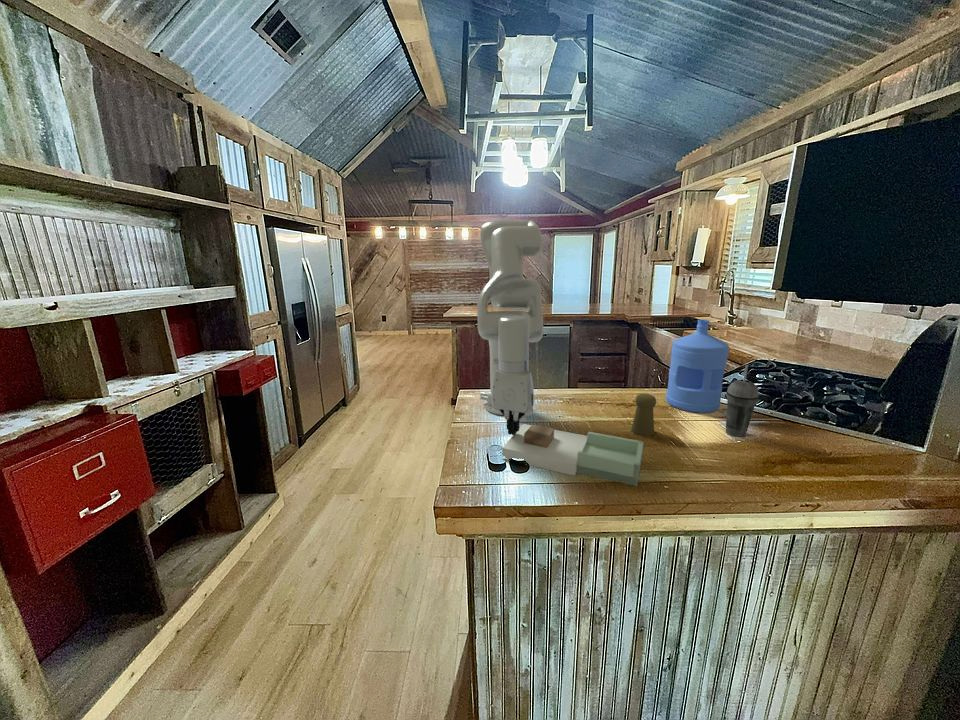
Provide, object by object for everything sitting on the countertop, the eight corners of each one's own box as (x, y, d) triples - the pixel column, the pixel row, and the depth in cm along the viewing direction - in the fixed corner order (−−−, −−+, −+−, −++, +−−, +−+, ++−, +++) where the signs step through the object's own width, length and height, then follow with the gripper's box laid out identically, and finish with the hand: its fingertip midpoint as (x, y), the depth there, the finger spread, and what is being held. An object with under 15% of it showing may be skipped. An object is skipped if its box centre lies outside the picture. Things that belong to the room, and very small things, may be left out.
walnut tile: (523, 443, 95) (524, 433, 94) (531, 433, 100) (531, 424, 100) (547, 447, 92) (547, 438, 92) (553, 437, 98) (554, 428, 97)
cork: (629, 434, 105) (633, 396, 102) (632, 425, 110) (635, 390, 107) (653, 438, 102) (657, 400, 100) (655, 429, 108) (659, 393, 105)
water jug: (657, 396, 133) (666, 316, 125) (703, 395, 132) (715, 316, 125) (678, 414, 118) (690, 325, 110) (730, 413, 117) (745, 324, 110)
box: (576, 472, 87) (577, 453, 86) (587, 449, 97) (588, 431, 96) (637, 486, 81) (639, 466, 80) (641, 460, 92) (643, 441, 90)
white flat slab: (502, 458, 94) (502, 447, 93) (523, 433, 107) (523, 423, 106) (575, 475, 86) (575, 464, 85) (588, 446, 99) (589, 436, 98)
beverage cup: (753, 433, 104) (767, 363, 99) (748, 442, 99) (762, 369, 94) (723, 425, 109) (734, 358, 104) (717, 434, 104) (728, 364, 99)
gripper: (479, 366, 94) (481, 433, 99) (537, 373, 88) (535, 444, 93) (492, 358, 101) (493, 422, 106) (546, 365, 94) (545, 432, 99)
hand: (513, 432), depth 99 cm, fingers closed
